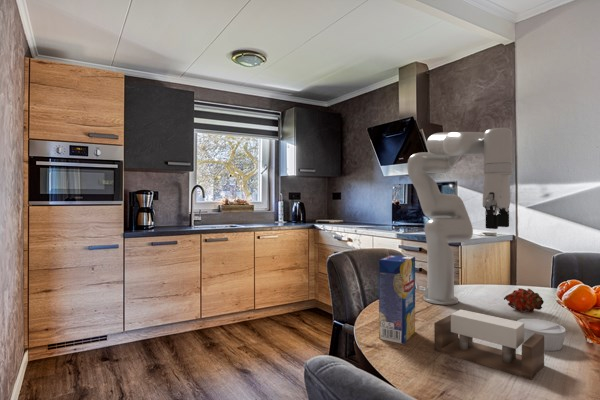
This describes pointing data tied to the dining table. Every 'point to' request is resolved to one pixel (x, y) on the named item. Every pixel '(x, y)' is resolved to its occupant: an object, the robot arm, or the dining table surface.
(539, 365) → the peg frame
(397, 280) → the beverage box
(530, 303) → the dragon fruit
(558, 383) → the dining table surface
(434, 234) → the robot arm
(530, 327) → the ramekin
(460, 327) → the shelf board
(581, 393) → the dining table surface
